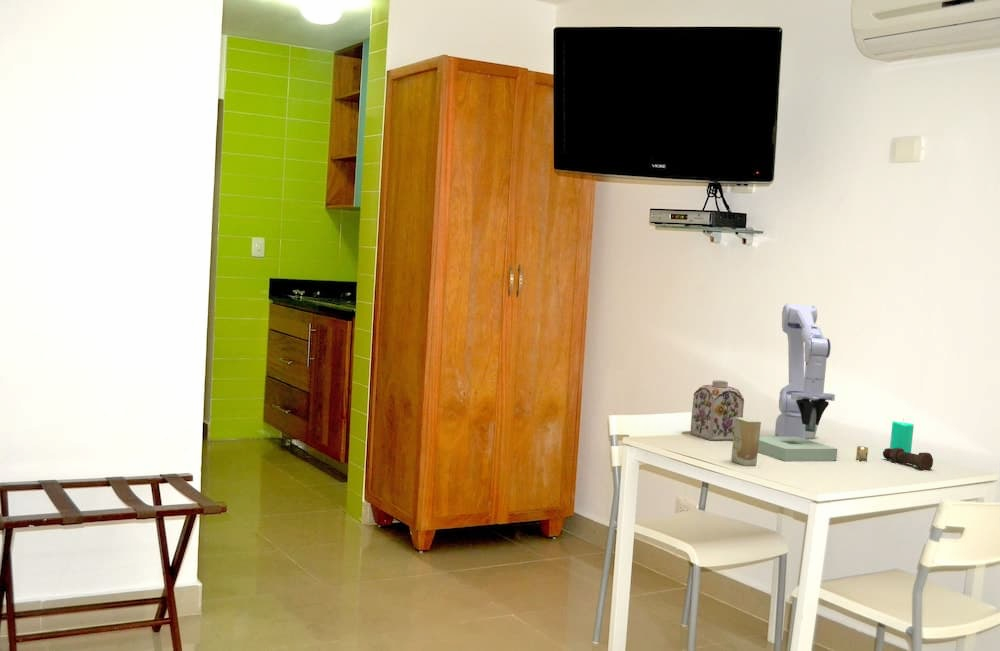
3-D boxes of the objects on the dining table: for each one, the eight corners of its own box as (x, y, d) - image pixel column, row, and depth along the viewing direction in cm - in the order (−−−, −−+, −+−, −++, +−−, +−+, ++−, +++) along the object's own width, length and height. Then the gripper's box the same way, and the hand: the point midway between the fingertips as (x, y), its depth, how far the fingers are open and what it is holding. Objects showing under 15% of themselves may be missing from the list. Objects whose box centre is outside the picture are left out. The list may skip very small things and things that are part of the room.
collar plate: (746, 448, 286) (747, 436, 286) (796, 448, 293) (797, 436, 292) (784, 461, 270) (785, 448, 269) (836, 460, 276) (837, 448, 276)
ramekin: (797, 439, 309) (798, 423, 308) (774, 433, 319) (776, 417, 319) (824, 439, 313) (826, 423, 313) (801, 433, 323) (803, 417, 323)
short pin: (853, 459, 280) (854, 446, 280) (861, 459, 281) (863, 446, 281) (860, 461, 277) (862, 448, 277) (869, 461, 278) (870, 448, 278)
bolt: (887, 465, 285) (927, 475, 271) (876, 457, 283) (916, 467, 270) (895, 448, 286) (936, 457, 272) (885, 440, 284) (925, 449, 270)
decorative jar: (741, 440, 299) (746, 383, 298) (710, 441, 294) (715, 383, 293) (719, 433, 310) (724, 378, 309) (688, 433, 306) (693, 377, 304)
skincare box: (730, 460, 265) (734, 417, 264) (743, 460, 266) (747, 417, 265) (744, 465, 259) (748, 421, 258) (757, 465, 260) (761, 421, 259)
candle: (885, 456, 289) (889, 417, 288) (893, 454, 293) (897, 415, 293) (905, 460, 285) (909, 420, 284) (913, 458, 289) (917, 419, 288)
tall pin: (802, 429, 283) (804, 406, 283) (810, 430, 285) (812, 406, 284) (809, 431, 281) (811, 408, 280) (817, 431, 282) (819, 408, 281)
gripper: (803, 379, 275) (799, 426, 276) (843, 381, 281) (839, 426, 281) (787, 376, 282) (783, 422, 283) (827, 377, 287) (823, 422, 288)
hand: (810, 424), depth 283 cm, fingers closed on tall pin, 3 cm apart
